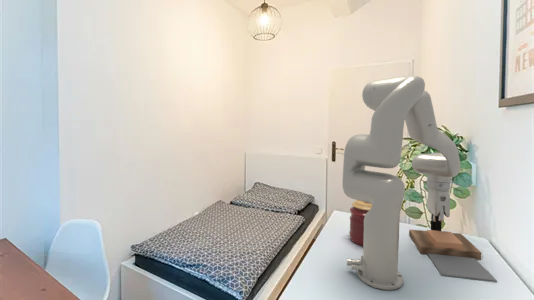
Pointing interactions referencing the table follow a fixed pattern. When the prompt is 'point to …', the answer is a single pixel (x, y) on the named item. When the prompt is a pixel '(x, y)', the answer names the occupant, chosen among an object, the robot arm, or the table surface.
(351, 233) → the canister
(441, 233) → the tile
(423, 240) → the brown wooden board
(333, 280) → the table surface
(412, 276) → the table surface
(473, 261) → the mat
